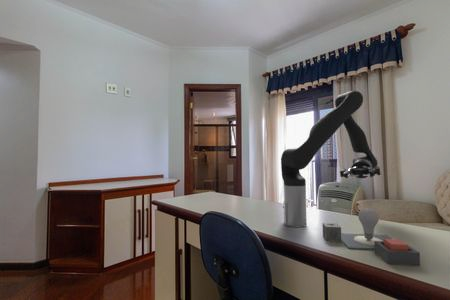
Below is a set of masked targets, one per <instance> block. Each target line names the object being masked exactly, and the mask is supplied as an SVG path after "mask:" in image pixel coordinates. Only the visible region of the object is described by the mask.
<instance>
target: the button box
mask: <svg viewBox="0 0 450 300" xmlns="http://www.w3.org/2000/svg"><path fill="white" fill-rule="evenodd" d="M374 245H375V250H374V253H375V254H376V255H377V256H378V257H379V258H381V259H382V260H383V261H384V262H385V263H386V262H387V263H386V264H388V265H398V266H403V265H404V266H420V265H421V254H420V251H418V250H416V249H414V248H413V247H411V246H409V245H408V251H400V250H389V249H388V248H386V247H385V246H384V241H374Z"/></svg>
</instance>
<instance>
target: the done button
mask: <svg viewBox="0 0 450 300" xmlns="http://www.w3.org/2000/svg"><path fill="white" fill-rule="evenodd" d="M384 246H385V247H386V248H388V249H389V250H400V251H408V246H409V244H408V243H406V242H404V241H403V240H402V239H397V238H392V239H384Z"/></svg>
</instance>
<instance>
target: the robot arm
mask: <svg viewBox="0 0 450 300" xmlns="http://www.w3.org/2000/svg"><path fill="white" fill-rule="evenodd" d="M334 101H335V102H334V105H335V108H334V109H333V110H331V111H329V112H327V113H326V114H324V115H323V116H321V117H320V118H319V119H318V120H317V121H316V122H315V123H314V124H313V126H312V127H311V128H310V131H309V135H308V138H307V139H306V140H305V141H304V142H303V143H302V144H301V145H300V146H298V147H297V148H296V147H295V148H287V149H285V150H283V152H282V154H281V156H280V157H281V158H280V166H281V167H280V169H281V178H282V180H283V222H284V225H285V226H288V227H293V228H303V227H306V226H307V191H306V190H307V187H306V186H307V185H306V184H307V183H306V182H307V181H306V178H305V177H303V176H302V174H301V172H300V170H303V169H306V167H307V166H309V164H310V163H311V161H312V160H313V158H314V157H315V155H316V154H317V153H318V152H319V150H320V149H321V148H322V147H323V146H324V145H325V144H326V142H327V141H329V139H330V138H331V137H332V136H333V135H334V134H335V133H337V131H338V129H339V128H340V127H342V125H343V126H344V127H345V129H346V132H347V135H348V138H349V141H350V145H351V147H352V151H353V153H356V154H357V153H358V154H359V153H360V154H361V153H362V154H364V155H362V156H361V155H360V156H355V157H354V158H353V159H352V165H351V167H350V168H348V169H346V168H342V169H340V170H339V175H340V177H341V178H345V179H348V178H354V177H355V178H357V179H366V178H368V177H370V178H373V177H375V176H376V175H377V176H380V175H382V174H381V168H380V166H379V165H378V159H377V157H375V155H374V154H373V152H372V150H371V148H370V146H369V143H368V142H369V141H368V139H367V136H366V133H365V132H364V130H363V128H362V127H361V126H360V125H359V124H358V123H357V122H356V121H355V120H354V118H353V114H355V113H356V112H357V111H358V110H359V109H360V108H361V107H362V105H363V103H364V102H363V101H364V95H363V94H362V92H360V91H358V90H351V91H348V92H345V93H342V94H339V95H337V96H336V97H335V100H334Z"/></svg>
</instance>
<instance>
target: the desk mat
mask: <svg viewBox="0 0 450 300" xmlns="http://www.w3.org/2000/svg"><path fill="white" fill-rule="evenodd" d="M384 239H393V238H392V237H391V236H390V235H387V234H379V233H378V234H374V233H373V239H371V240H367V239H366V238H365V236H364V233H345V232H344V233H342V232H341V241H340V242H341V243H342V244H343V245H344V246H345V247H346V248H347V249H349V250H365V251H366V250H367V251H369V250H371V251H375V245H374V241H384Z"/></svg>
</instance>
